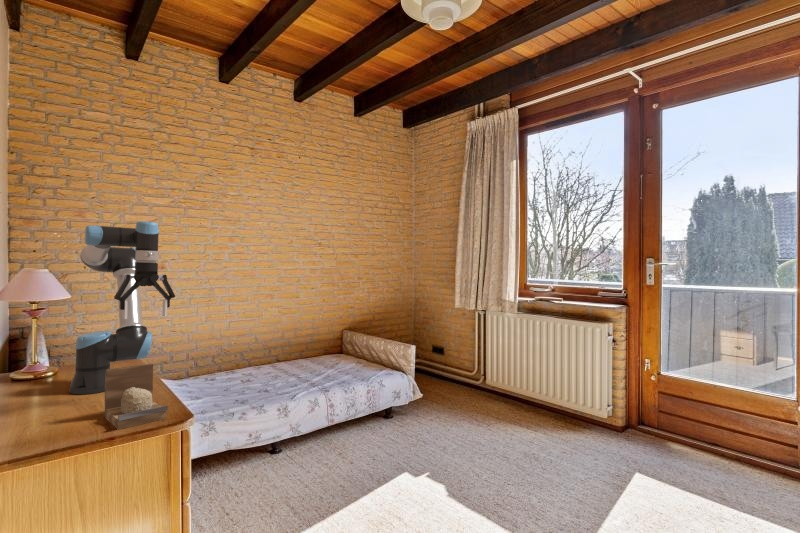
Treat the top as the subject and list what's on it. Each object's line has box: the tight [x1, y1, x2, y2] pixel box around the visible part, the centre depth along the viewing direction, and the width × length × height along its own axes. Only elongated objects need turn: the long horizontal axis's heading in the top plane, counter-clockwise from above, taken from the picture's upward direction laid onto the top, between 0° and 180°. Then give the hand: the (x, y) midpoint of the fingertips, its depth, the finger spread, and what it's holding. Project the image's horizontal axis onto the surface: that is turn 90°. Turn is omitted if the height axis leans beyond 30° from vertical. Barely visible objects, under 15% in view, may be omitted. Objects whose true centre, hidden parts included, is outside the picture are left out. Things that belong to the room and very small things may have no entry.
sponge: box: [121, 387, 153, 414], centre depth 141 cm, size 9×10×10 cm
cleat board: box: [103, 363, 169, 431], centre depth 141 cm, size 17×14×16 cm
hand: (145, 317), depth 160 cm, fingers open, 13 cm apart
